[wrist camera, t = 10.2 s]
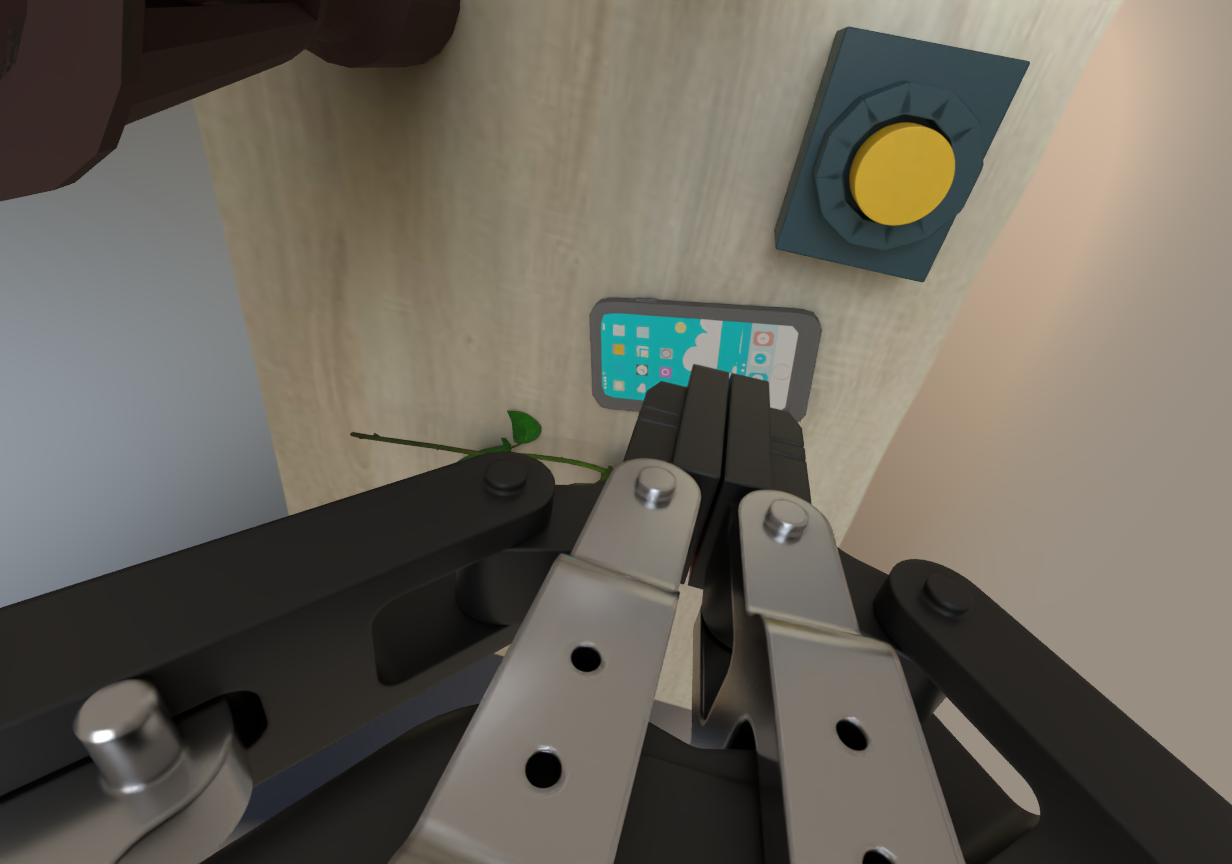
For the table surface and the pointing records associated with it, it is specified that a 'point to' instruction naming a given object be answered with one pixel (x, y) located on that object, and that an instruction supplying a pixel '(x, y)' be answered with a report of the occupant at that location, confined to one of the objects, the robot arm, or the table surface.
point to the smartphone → (700, 348)
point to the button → (901, 173)
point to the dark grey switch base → (868, 101)
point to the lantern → (169, 64)
